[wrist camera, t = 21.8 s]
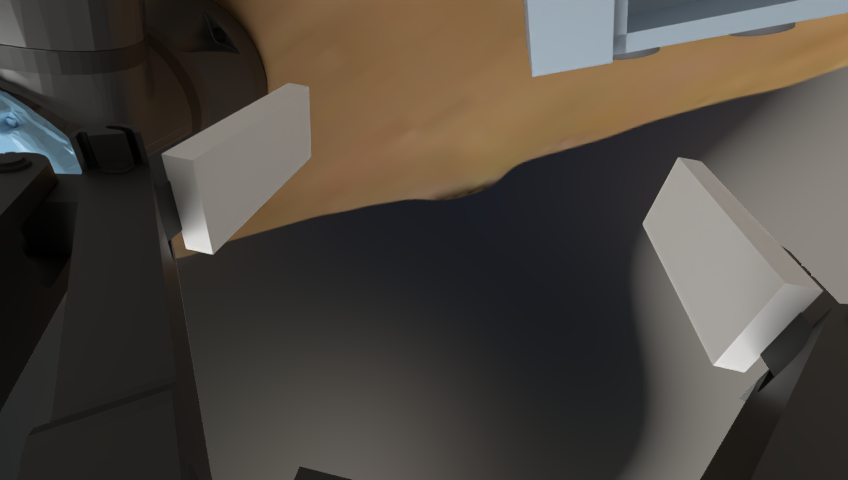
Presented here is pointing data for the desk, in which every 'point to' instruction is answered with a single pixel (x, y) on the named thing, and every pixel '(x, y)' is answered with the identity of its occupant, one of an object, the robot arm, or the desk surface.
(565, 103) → the desk surface
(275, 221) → the desk surface
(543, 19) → the pickup bed
